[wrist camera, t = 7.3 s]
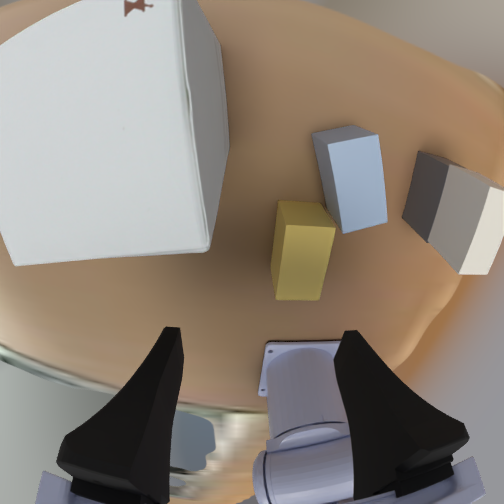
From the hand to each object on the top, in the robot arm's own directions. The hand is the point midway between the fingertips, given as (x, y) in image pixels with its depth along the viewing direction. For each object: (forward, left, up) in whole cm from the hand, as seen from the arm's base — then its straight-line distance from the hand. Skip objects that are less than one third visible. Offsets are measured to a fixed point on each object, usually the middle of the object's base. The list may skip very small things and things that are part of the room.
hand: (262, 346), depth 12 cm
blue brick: (+6, -6, -10) cm, 13 cm away
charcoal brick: (+5, -13, -10) cm, 17 cm away
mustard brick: (0, -3, -10) cm, 11 cm away
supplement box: (+9, +6, -11) cm, 15 cm away
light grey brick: (+5, -13, -6) cm, 15 cm away
